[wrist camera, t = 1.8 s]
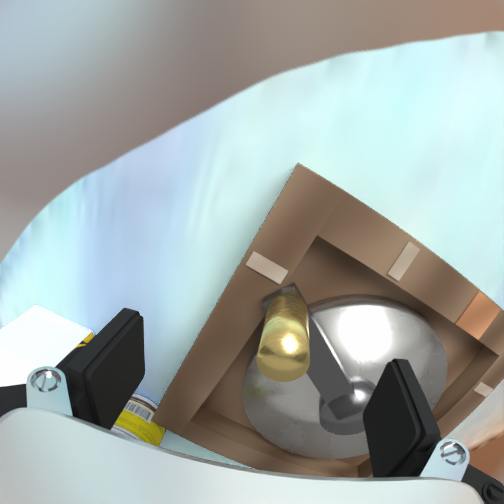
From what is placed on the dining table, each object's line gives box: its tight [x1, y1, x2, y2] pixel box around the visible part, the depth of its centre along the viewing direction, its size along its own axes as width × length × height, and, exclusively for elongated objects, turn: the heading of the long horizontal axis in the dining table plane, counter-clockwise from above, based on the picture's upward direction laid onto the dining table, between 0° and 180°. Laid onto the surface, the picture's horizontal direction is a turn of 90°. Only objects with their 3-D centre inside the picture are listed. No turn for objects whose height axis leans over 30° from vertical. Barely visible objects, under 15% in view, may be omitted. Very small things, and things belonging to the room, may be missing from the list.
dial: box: [242, 282, 448, 459], centre depth 16 cm, size 16×14×7 cm
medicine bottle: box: [0, 305, 94, 387], centre depth 19 cm, size 7×7×12 cm
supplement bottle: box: [111, 394, 166, 447], centre depth 20 cm, size 6×6×10 cm
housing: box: [151, 163, 504, 478], centre depth 19 cm, size 21×21×3 cm
